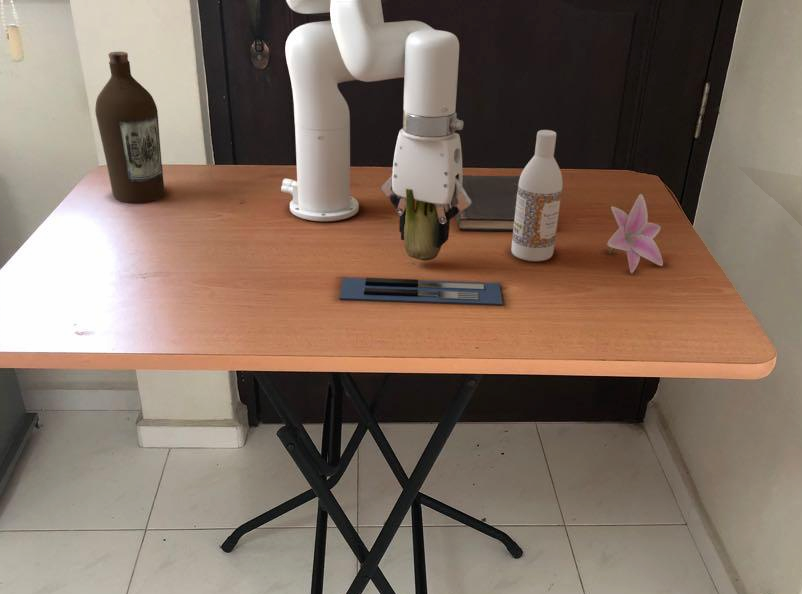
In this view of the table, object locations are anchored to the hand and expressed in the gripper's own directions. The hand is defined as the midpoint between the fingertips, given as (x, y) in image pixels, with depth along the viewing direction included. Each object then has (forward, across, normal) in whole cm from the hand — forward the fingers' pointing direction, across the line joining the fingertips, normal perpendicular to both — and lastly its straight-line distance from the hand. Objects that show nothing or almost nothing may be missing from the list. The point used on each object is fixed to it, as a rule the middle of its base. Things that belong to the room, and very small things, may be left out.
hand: (423, 239), depth 131 cm
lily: (+5, -29, -18) cm, 34 cm away
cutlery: (+4, -4, +9) cm, 11 cm away
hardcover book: (+4, -1, -30) cm, 30 cm away
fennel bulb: (+3, 0, 0) cm, 3 cm away
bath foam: (+5, -14, -13) cm, 20 cm away
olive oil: (+4, +60, -2) cm, 60 cm away
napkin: (+4, -4, +9) cm, 11 cm away
